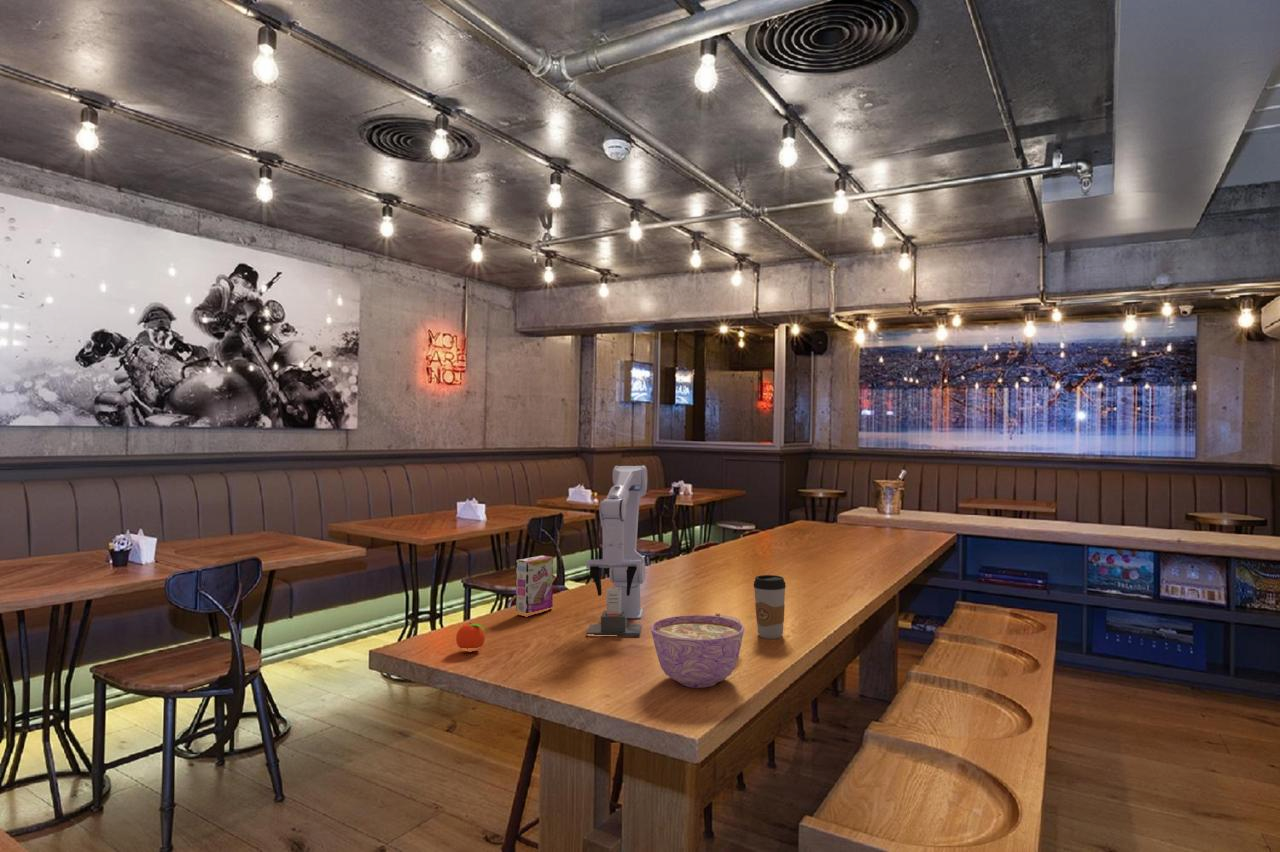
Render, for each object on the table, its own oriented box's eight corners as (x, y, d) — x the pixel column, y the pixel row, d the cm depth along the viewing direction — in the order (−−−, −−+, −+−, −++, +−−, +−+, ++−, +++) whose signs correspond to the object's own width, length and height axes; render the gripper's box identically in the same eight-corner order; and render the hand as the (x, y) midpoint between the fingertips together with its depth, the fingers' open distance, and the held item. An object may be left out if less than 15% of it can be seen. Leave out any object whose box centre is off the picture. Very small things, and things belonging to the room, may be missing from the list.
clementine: (494, 649, 176) (493, 620, 176) (480, 657, 169) (480, 627, 170) (465, 646, 178) (464, 618, 178) (450, 655, 172) (450, 625, 172)
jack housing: (590, 628, 194) (590, 608, 194) (641, 628, 193) (641, 609, 193) (586, 636, 186) (586, 616, 186) (639, 636, 185) (639, 616, 185)
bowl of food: (670, 662, 164) (669, 611, 164) (755, 671, 156) (754, 619, 156) (636, 691, 145) (635, 634, 146) (731, 703, 138) (730, 644, 138)
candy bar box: (527, 618, 206) (527, 561, 206) (515, 615, 209) (514, 560, 209) (554, 610, 215) (553, 556, 215) (542, 608, 218) (541, 554, 218)
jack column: (608, 618, 191) (607, 587, 192) (622, 618, 191) (621, 587, 191) (606, 621, 188) (606, 590, 188) (620, 621, 187) (620, 590, 188)
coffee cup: (747, 636, 184) (746, 578, 184) (765, 629, 190) (764, 573, 190) (775, 642, 178) (774, 582, 179) (792, 634, 185) (791, 577, 185)
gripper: (584, 546, 186) (584, 598, 186) (639, 546, 185) (639, 598, 185) (588, 542, 193) (588, 592, 193) (641, 542, 192) (641, 592, 192)
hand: (614, 594), depth 190 cm, fingers open, 7 cm apart
